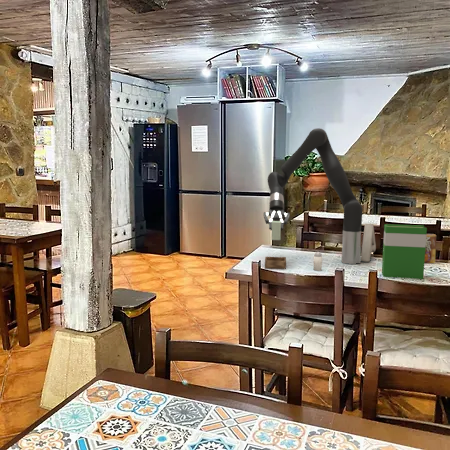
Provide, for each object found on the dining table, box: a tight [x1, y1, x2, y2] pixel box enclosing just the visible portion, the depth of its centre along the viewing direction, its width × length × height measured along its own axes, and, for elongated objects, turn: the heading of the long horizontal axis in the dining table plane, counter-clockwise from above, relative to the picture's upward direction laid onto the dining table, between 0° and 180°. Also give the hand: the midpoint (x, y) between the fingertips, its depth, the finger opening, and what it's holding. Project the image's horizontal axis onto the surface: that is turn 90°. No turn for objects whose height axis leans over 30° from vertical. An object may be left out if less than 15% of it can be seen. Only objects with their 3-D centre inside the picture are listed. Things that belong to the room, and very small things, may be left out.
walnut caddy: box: [264, 256, 287, 270], centre depth 232 cm, size 11×10×4 cm
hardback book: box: [381, 223, 428, 280], centre depth 214 cm, size 18×7×24 cm, turn 77°
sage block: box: [270, 220, 282, 241], centre depth 230 cm, size 4×4×9 cm
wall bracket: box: [360, 223, 377, 263], centre depth 259 cm, size 22×4×30 cm
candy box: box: [424, 233, 437, 264], centre depth 242 cm, size 9×4×15 cm, turn 81°
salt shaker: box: [313, 251, 323, 272], centre depth 226 cm, size 4×4×9 cm
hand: (276, 229), depth 229 cm, fingers closed on sage block, 4 cm apart
